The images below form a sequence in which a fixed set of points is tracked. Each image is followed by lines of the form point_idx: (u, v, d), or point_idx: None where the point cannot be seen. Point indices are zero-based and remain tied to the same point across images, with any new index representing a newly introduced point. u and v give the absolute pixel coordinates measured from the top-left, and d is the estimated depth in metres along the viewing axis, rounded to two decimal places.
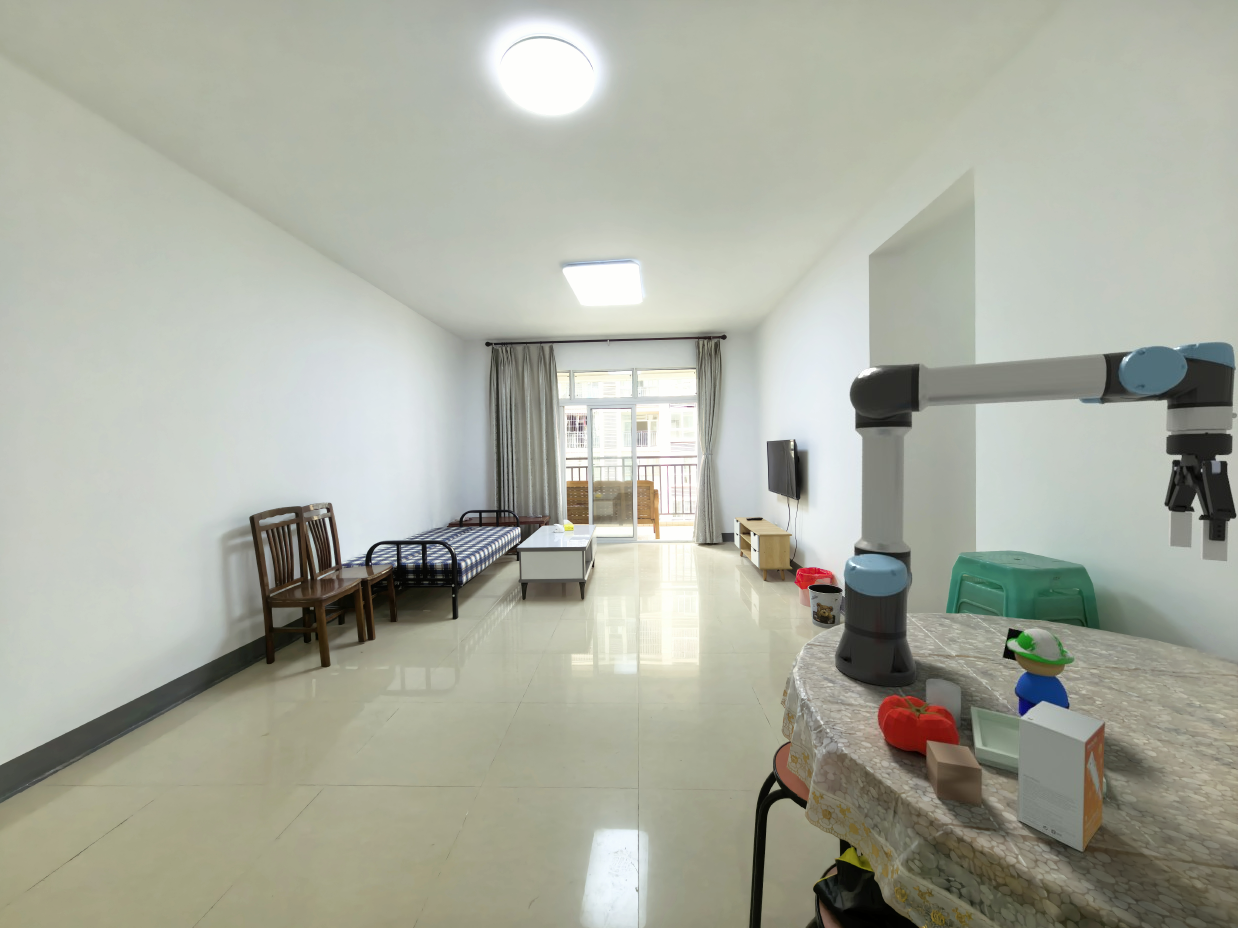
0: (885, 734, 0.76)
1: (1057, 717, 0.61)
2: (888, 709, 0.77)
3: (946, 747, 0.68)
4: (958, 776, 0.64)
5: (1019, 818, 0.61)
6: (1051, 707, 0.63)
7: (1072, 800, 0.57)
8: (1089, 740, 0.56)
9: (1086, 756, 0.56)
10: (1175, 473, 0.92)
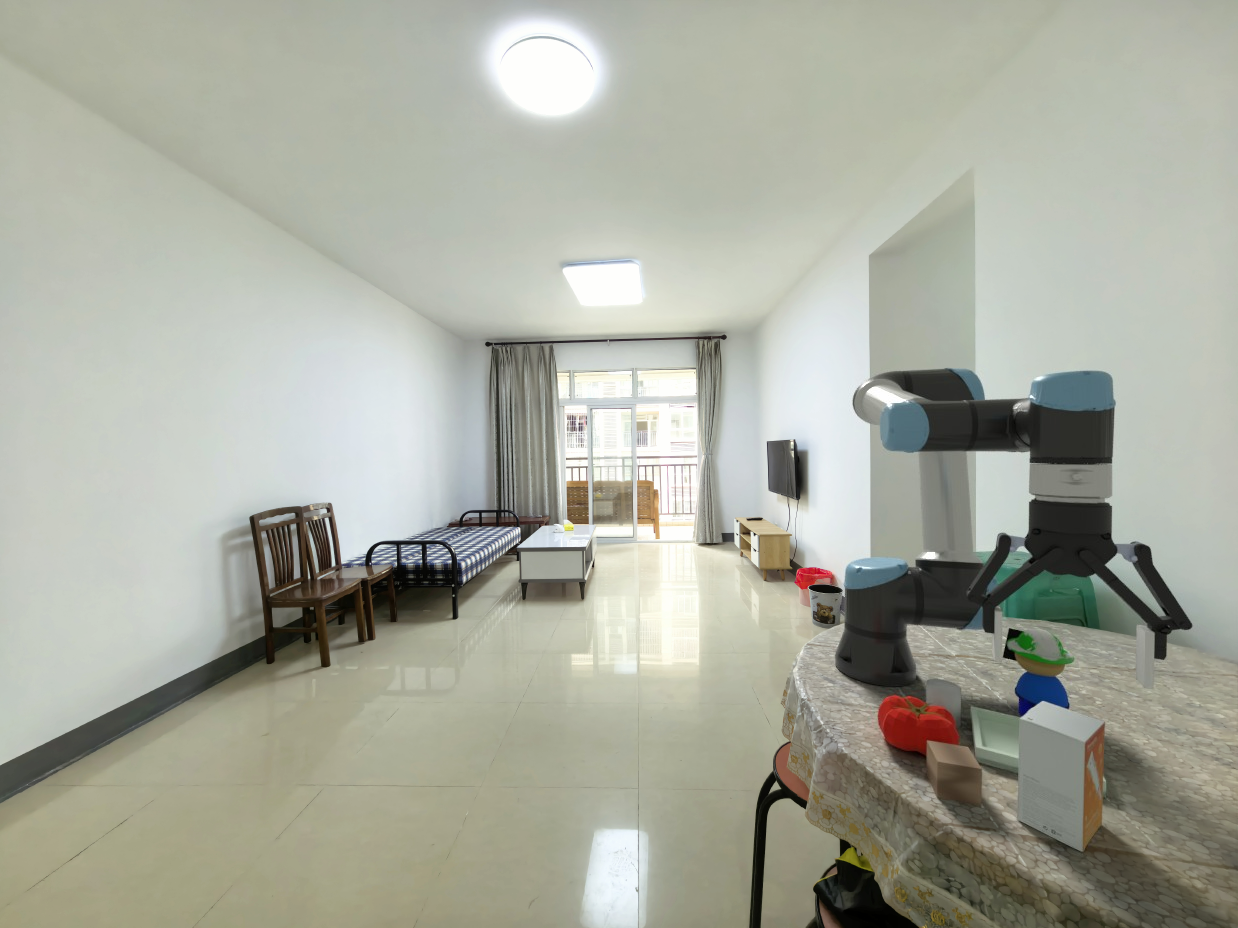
0: (885, 734, 0.76)
1: (1057, 717, 0.61)
2: (888, 709, 0.77)
3: (946, 747, 0.68)
4: (958, 776, 0.64)
5: (1019, 818, 0.61)
6: (1051, 707, 0.63)
7: (1072, 800, 0.57)
8: (1089, 740, 0.56)
9: (1086, 756, 0.56)
10: (1132, 563, 0.58)
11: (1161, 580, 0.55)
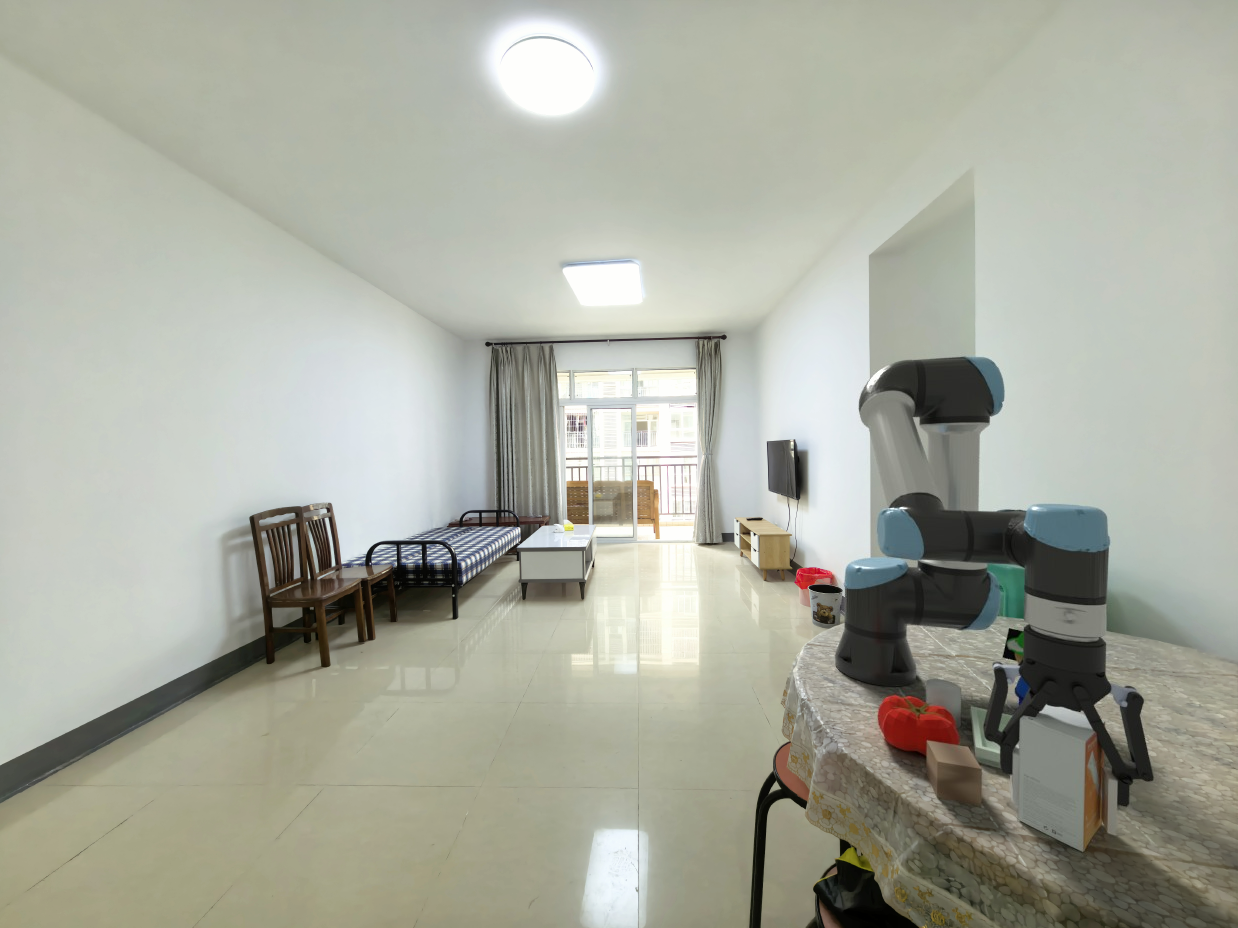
0: (885, 734, 0.76)
1: (1057, 717, 0.61)
2: (888, 709, 0.77)
3: (946, 747, 0.68)
4: (958, 776, 0.64)
5: (1019, 818, 0.61)
6: (1051, 707, 0.63)
7: (1072, 800, 0.57)
8: (1089, 740, 0.56)
9: (1086, 756, 0.56)
10: None
11: (1141, 731, 0.56)
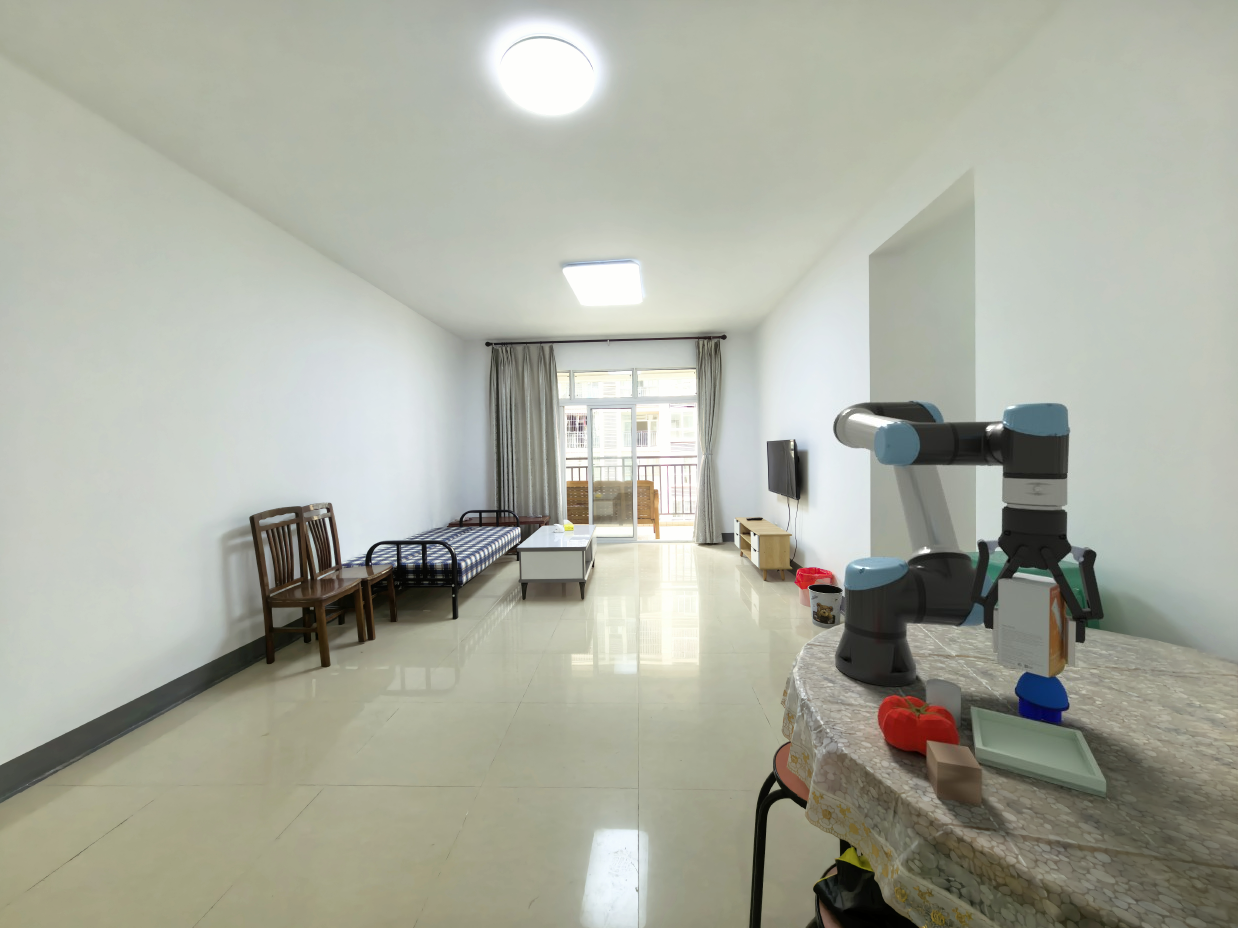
0: (885, 734, 0.76)
1: (1028, 578, 0.74)
2: (888, 709, 0.77)
3: (946, 747, 0.68)
4: (958, 776, 0.64)
5: (999, 661, 0.74)
6: (1024, 574, 0.77)
7: (1040, 637, 0.70)
8: (1053, 588, 0.70)
9: (1051, 600, 0.69)
10: None
11: (1094, 579, 0.69)
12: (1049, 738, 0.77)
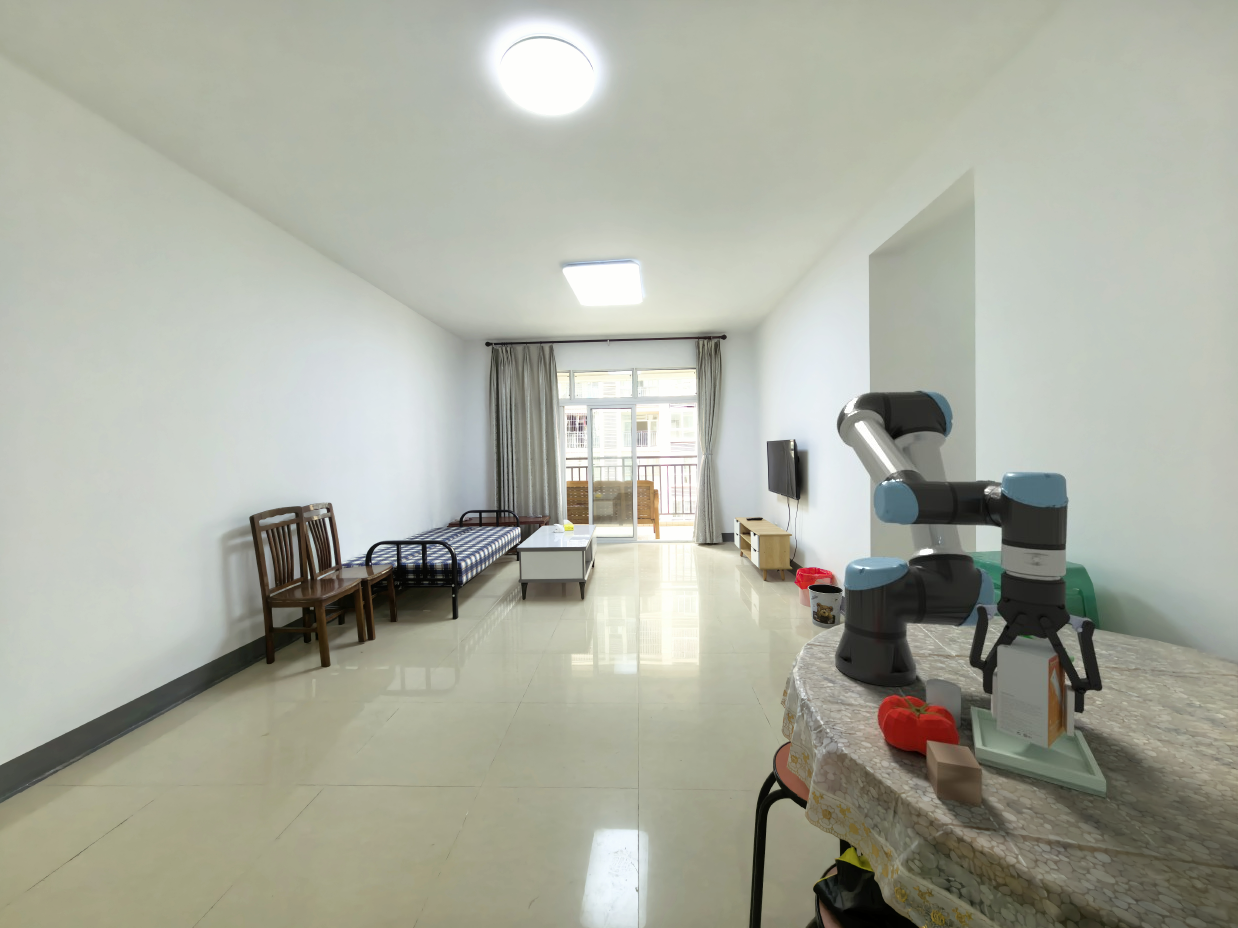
0: (885, 734, 0.76)
1: (1027, 645, 0.74)
2: (888, 709, 0.77)
3: (946, 747, 0.68)
4: (958, 776, 0.64)
5: (998, 728, 0.74)
6: (1023, 639, 0.77)
7: (1039, 708, 0.70)
8: (1052, 658, 0.70)
9: (1049, 671, 0.70)
10: (1077, 632, 0.72)
11: (1093, 651, 0.69)
12: None
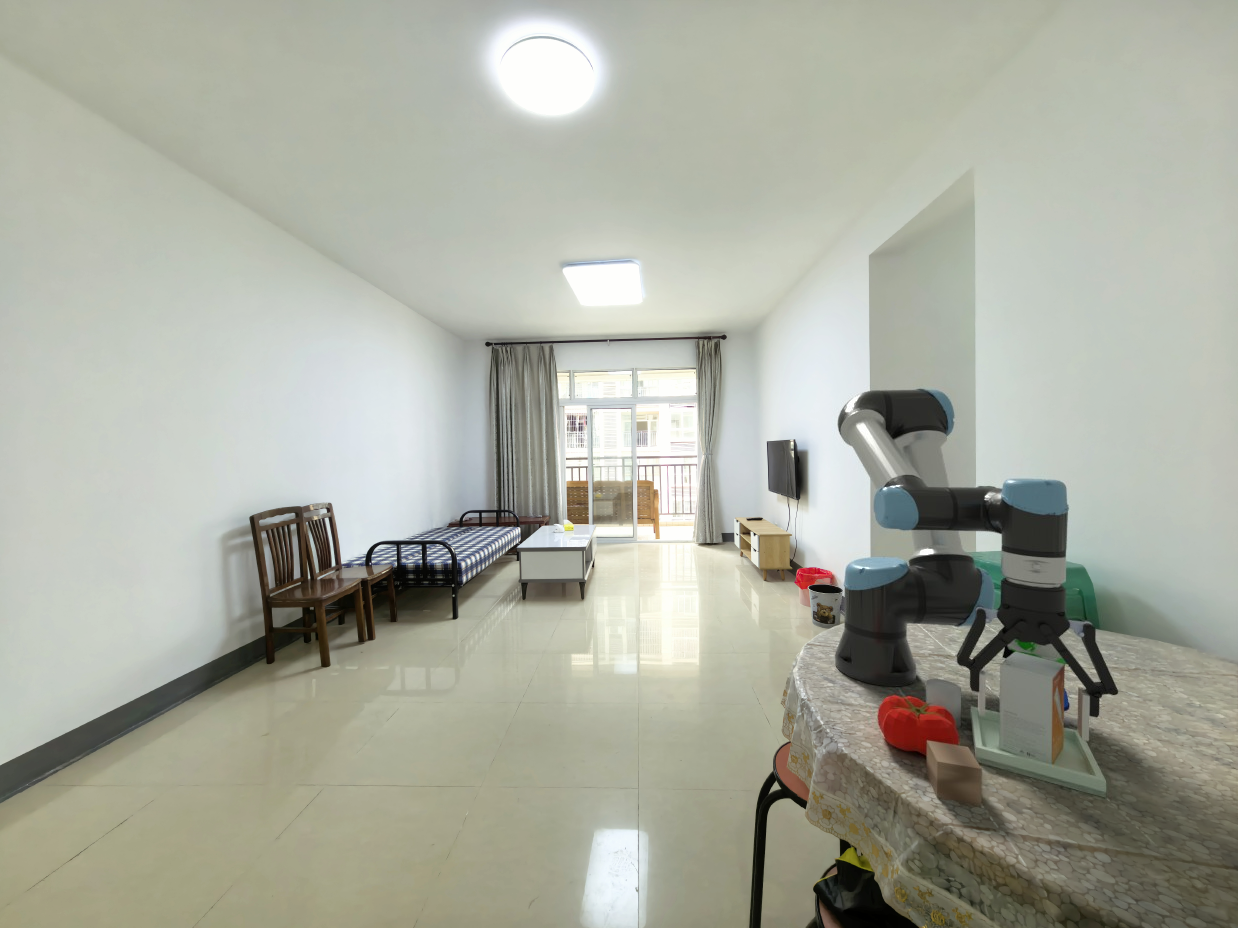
0: (885, 734, 0.76)
1: (1028, 662, 0.74)
2: (888, 709, 0.77)
3: (946, 747, 0.68)
4: (958, 776, 0.64)
5: (1001, 746, 0.74)
6: (1022, 655, 0.77)
7: (1043, 726, 0.70)
8: (1055, 677, 0.70)
9: (1053, 690, 0.70)
10: (1081, 636, 0.72)
11: (1100, 654, 0.69)
12: None
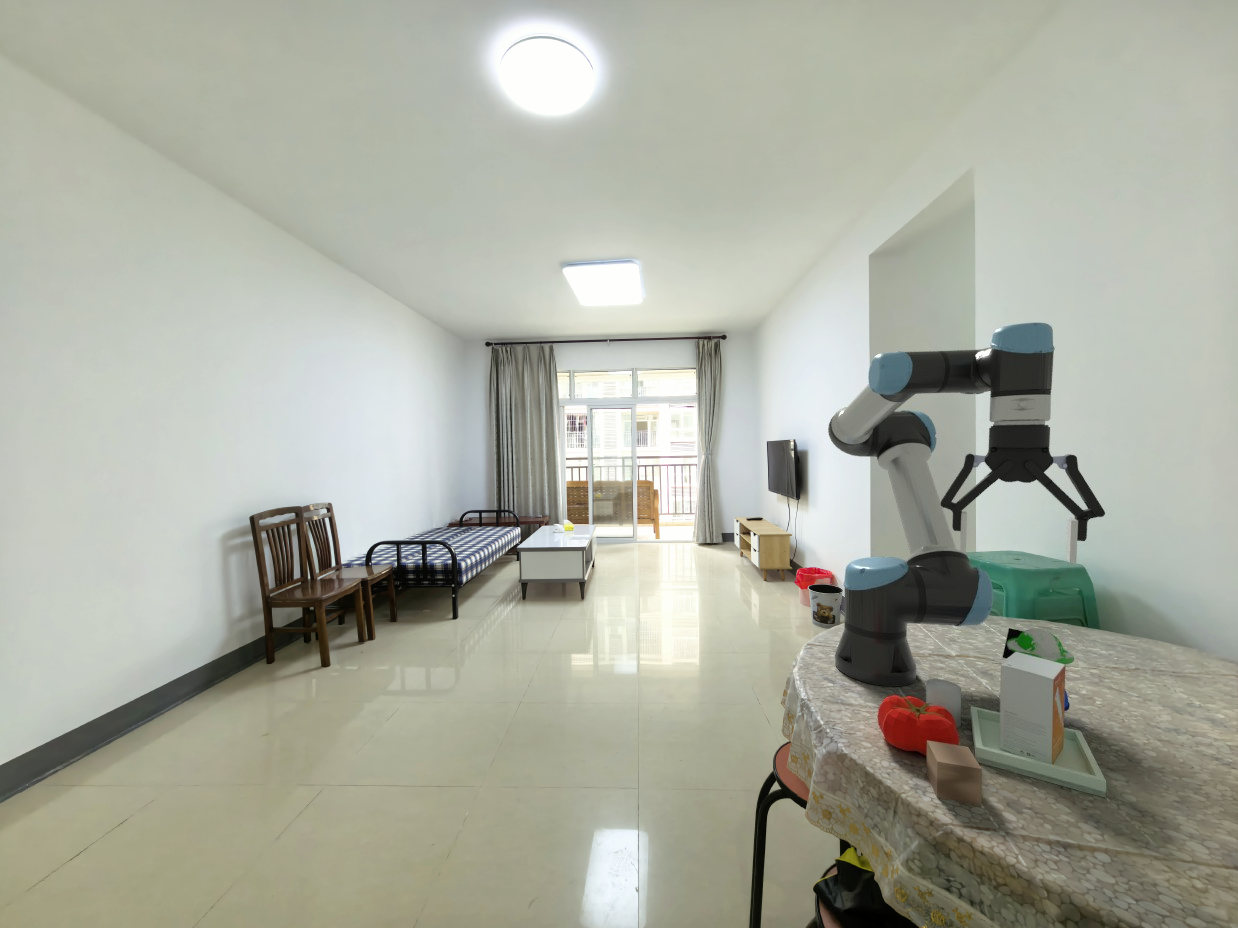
0: (885, 734, 0.76)
1: (1029, 663, 0.74)
2: (888, 709, 0.77)
3: (946, 747, 0.68)
4: (958, 776, 0.64)
5: (1001, 746, 0.74)
6: (1023, 656, 0.77)
7: (1043, 727, 0.70)
8: (1056, 677, 0.70)
9: (1054, 690, 0.70)
10: (1065, 471, 0.76)
11: (1084, 481, 0.73)
12: None
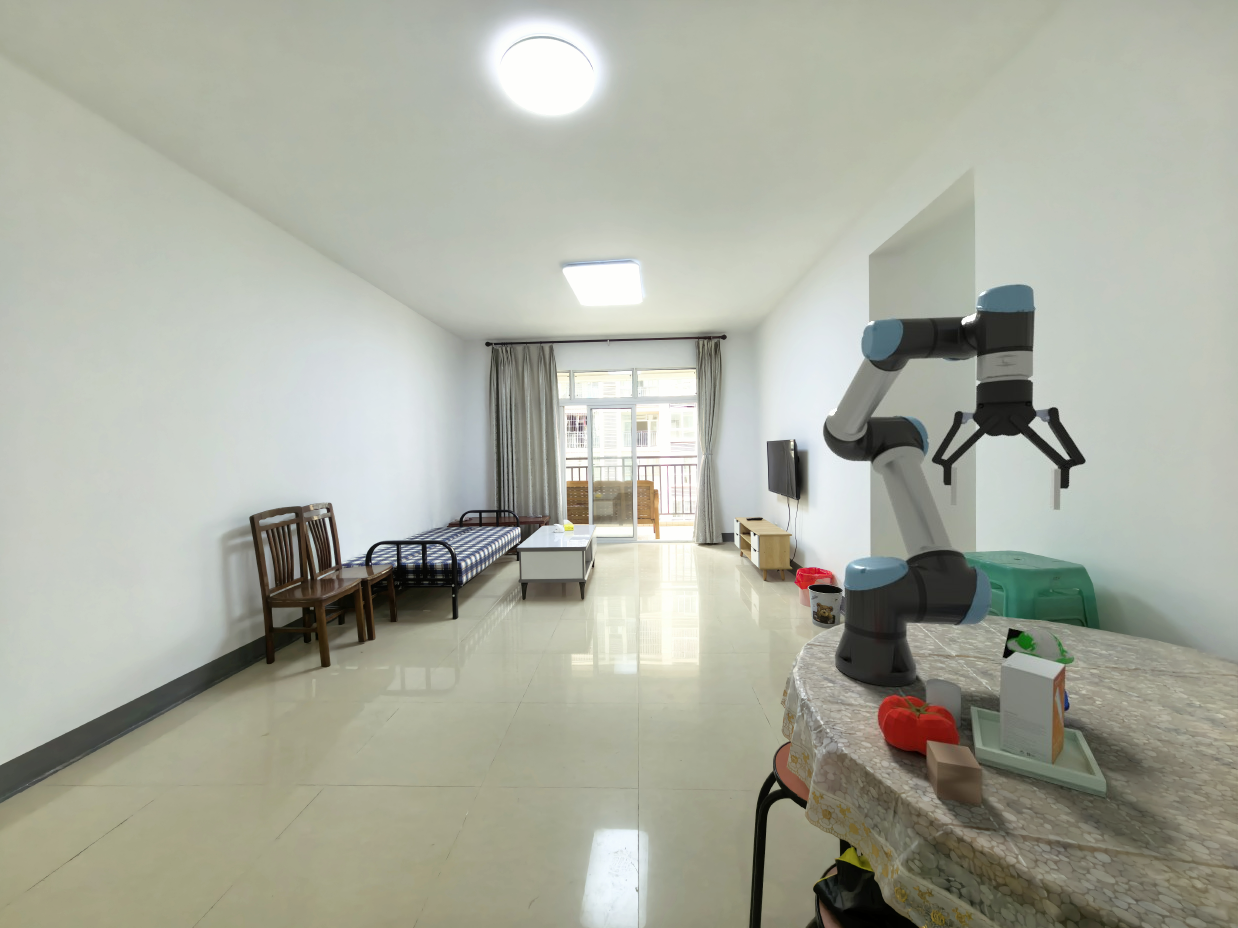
0: (885, 734, 0.76)
1: (1029, 663, 0.74)
2: (888, 709, 0.77)
3: (946, 747, 0.68)
4: (958, 776, 0.64)
5: (1001, 746, 0.74)
6: (1023, 656, 0.77)
7: (1043, 727, 0.70)
8: (1056, 677, 0.70)
9: (1054, 690, 0.70)
10: (1048, 424, 0.80)
11: (1065, 431, 0.77)
12: None
